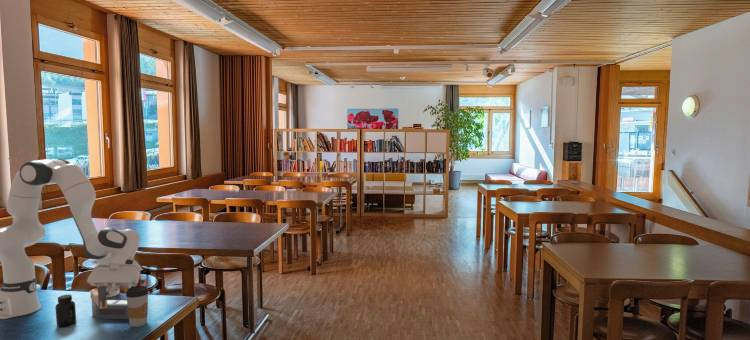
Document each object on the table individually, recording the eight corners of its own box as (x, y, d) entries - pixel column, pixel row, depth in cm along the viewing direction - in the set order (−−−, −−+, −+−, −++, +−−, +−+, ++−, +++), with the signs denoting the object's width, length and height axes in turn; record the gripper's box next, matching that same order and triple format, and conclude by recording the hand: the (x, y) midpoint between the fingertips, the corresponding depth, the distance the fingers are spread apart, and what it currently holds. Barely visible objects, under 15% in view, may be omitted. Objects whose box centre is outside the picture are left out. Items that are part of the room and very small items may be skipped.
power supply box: (87, 318, 197) (87, 301, 197) (97, 313, 203) (96, 296, 203) (128, 319, 196) (127, 301, 196) (136, 313, 203) (136, 296, 202)
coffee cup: (140, 329, 187) (138, 292, 185) (122, 327, 188) (120, 291, 187) (154, 320, 195) (152, 286, 194) (136, 319, 196) (135, 284, 195)
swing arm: (90, 297, 200) (89, 278, 199) (98, 296, 202) (97, 277, 201) (99, 309, 187) (98, 288, 186) (108, 307, 189) (107, 286, 188)
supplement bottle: (72, 320, 196) (71, 292, 195) (78, 324, 192) (77, 295, 191) (54, 325, 191) (52, 296, 190) (59, 329, 186) (58, 300, 185)
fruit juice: (98, 299, 220) (96, 241, 218) (96, 294, 228) (93, 238, 226) (121, 295, 226) (118, 239, 224) (118, 290, 233) (115, 235, 231)
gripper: (92, 261, 197) (78, 291, 188) (139, 261, 197) (127, 291, 188) (99, 268, 202) (85, 297, 193) (145, 268, 202) (134, 298, 193)
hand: (106, 294), depth 190 cm, fingers closed
